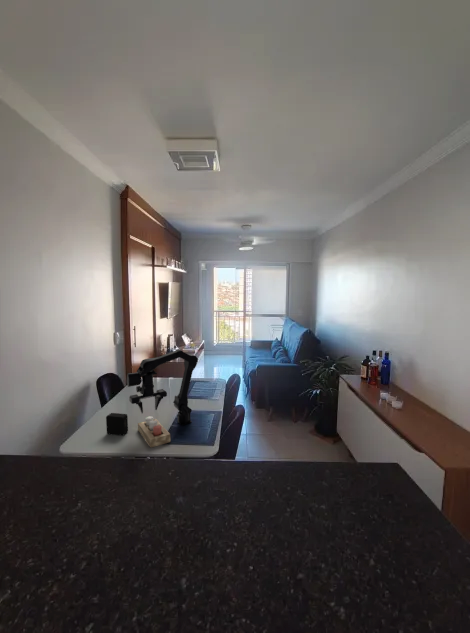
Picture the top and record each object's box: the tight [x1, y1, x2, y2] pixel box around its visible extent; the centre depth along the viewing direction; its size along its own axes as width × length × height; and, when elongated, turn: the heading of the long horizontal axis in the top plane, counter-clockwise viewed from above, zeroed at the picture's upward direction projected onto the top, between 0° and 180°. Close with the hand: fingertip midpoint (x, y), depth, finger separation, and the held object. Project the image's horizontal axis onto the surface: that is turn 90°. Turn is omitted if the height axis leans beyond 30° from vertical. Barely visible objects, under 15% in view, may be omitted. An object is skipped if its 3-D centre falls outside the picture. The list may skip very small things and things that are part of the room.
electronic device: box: [105, 412, 129, 436], centre depth 158 cm, size 4×10×10 cm, turn 79°
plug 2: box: [149, 421, 157, 431], centre depth 154 cm, size 4×4×4 cm
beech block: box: [137, 418, 171, 448], centre depth 154 cm, size 10×22×4 cm, turn 33°
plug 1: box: [145, 415, 154, 426], centre depth 160 cm, size 4×4×4 cm
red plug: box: [153, 425, 162, 436], centre depth 149 cm, size 4×4×4 cm
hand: (149, 411), depth 159 cm, fingers open, 7 cm apart
